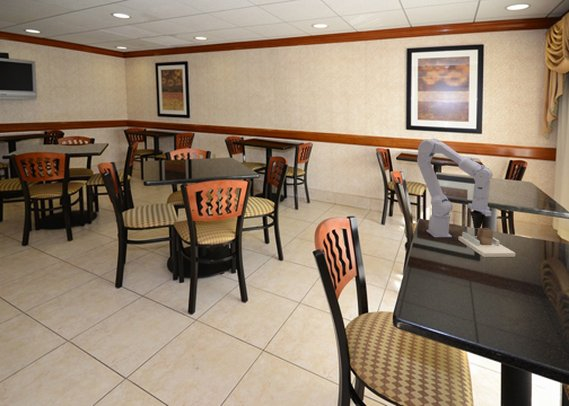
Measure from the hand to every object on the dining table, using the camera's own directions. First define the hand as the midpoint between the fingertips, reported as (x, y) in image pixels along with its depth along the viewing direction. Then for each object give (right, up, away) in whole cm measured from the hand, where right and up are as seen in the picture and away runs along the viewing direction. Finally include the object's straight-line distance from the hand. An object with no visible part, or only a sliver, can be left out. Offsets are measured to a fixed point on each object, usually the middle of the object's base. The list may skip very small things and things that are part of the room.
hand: (476, 228), depth 150 cm
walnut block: (0, -6, -5) cm, 8 cm away
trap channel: (0, -7, -5) cm, 9 cm away
